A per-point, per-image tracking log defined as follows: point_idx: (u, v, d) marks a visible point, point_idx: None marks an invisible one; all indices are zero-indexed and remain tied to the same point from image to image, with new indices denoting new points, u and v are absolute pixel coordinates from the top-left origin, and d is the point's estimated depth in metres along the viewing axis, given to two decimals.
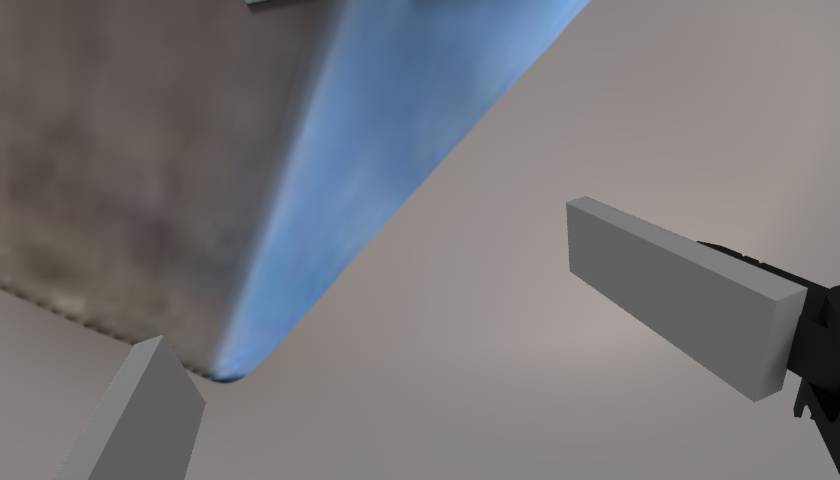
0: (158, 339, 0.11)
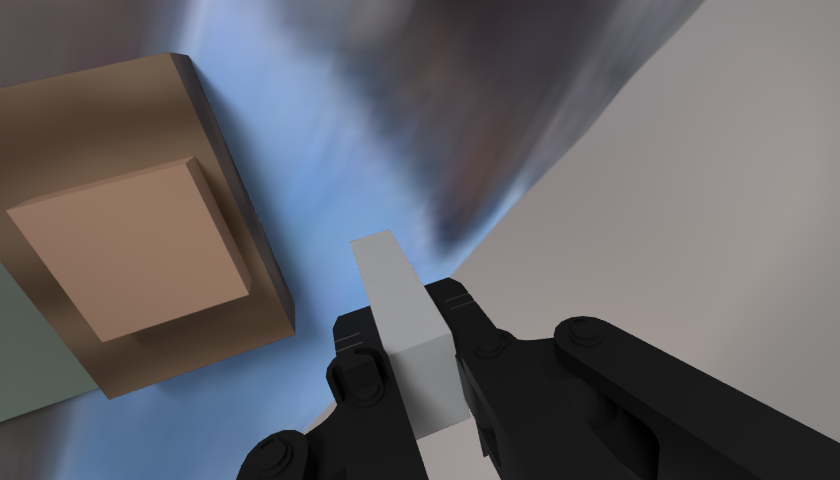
0: (368, 237, 0.14)
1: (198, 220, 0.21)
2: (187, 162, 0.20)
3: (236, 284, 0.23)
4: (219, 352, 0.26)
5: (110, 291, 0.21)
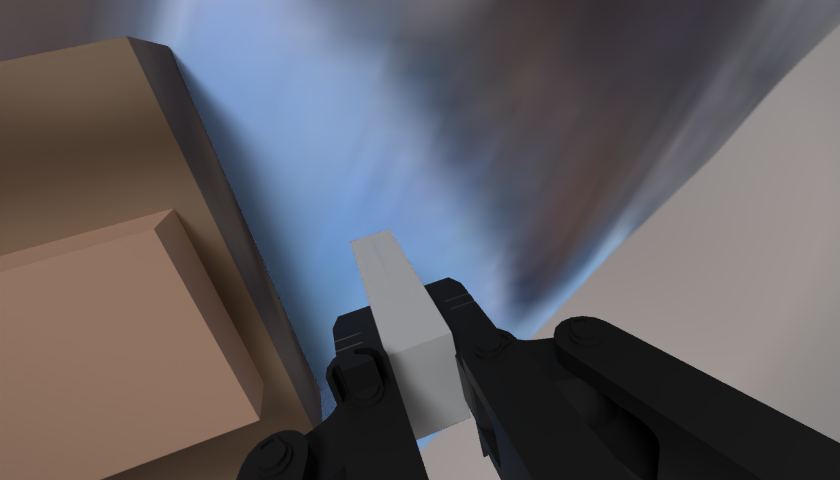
0: (368, 237, 0.14)
1: (177, 318, 0.12)
2: (158, 225, 0.12)
3: (240, 407, 0.14)
4: None
5: (31, 435, 0.13)
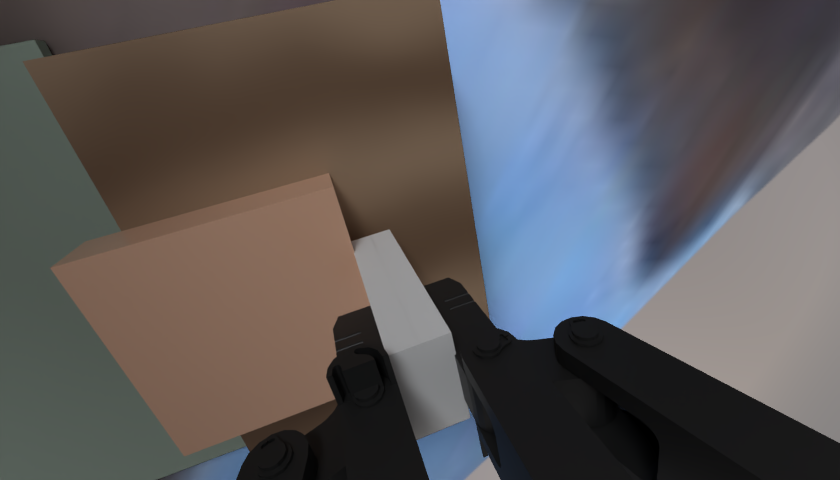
0: (368, 237, 0.14)
1: (340, 273, 0.13)
2: None
3: None
4: None
5: (202, 384, 0.13)
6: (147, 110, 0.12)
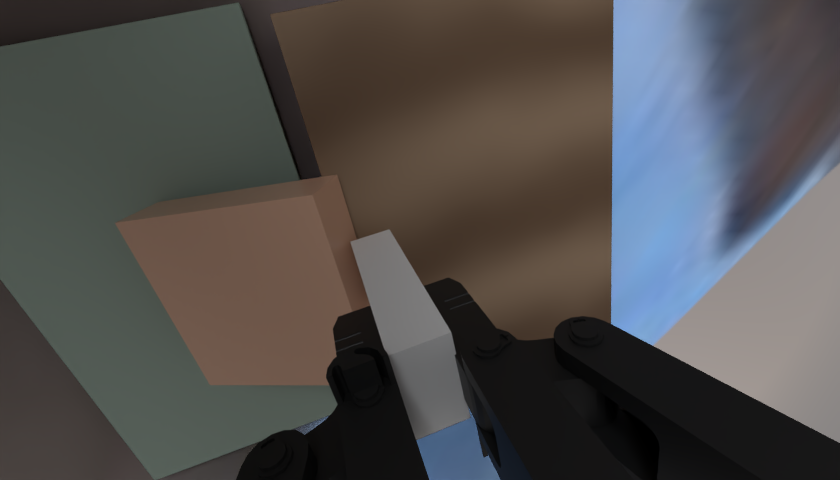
0: (368, 237, 0.14)
1: (322, 278, 0.13)
2: (318, 190, 0.12)
3: None
4: None
5: (218, 336, 0.16)
6: (361, 63, 0.13)
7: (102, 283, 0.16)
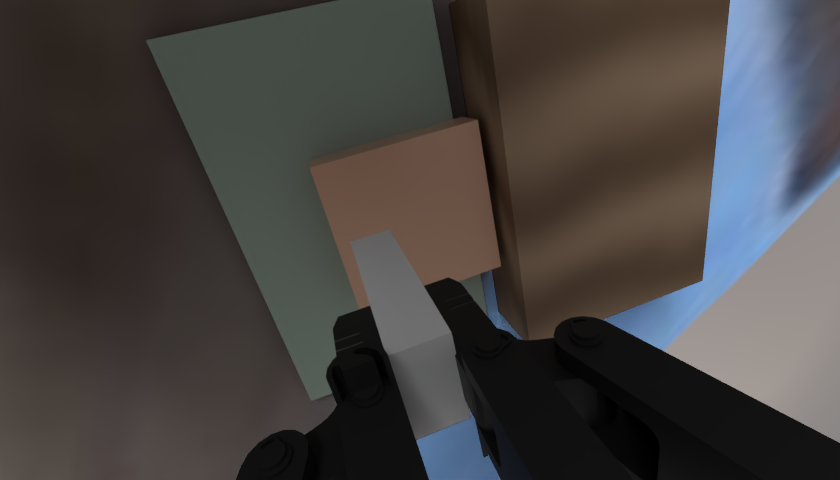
0: (368, 237, 0.14)
1: (474, 183, 0.19)
2: (473, 119, 0.19)
3: (492, 254, 0.21)
4: (636, 297, 0.23)
5: None
6: (542, 25, 0.16)
7: (297, 219, 0.20)
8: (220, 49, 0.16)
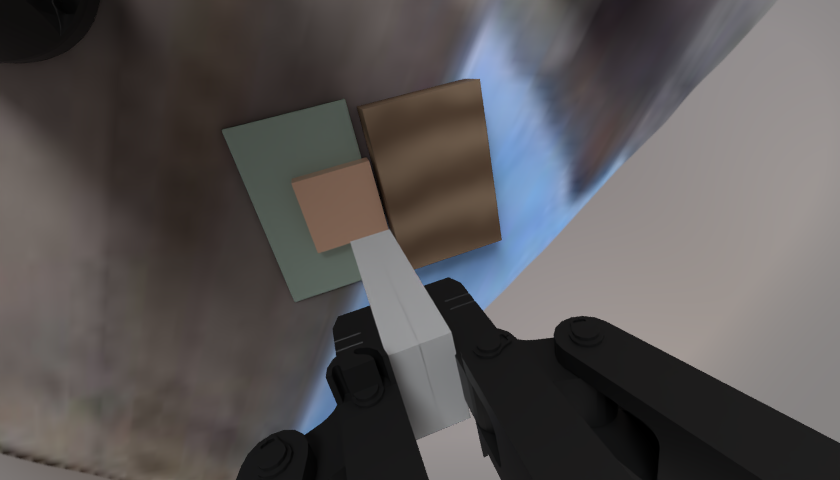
0: (368, 237, 0.14)
1: (370, 189, 0.41)
2: (368, 160, 0.40)
3: (383, 224, 0.43)
4: (463, 248, 0.45)
5: (326, 225, 0.41)
6: (390, 122, 0.38)
7: (286, 206, 0.41)
8: (252, 132, 0.38)
